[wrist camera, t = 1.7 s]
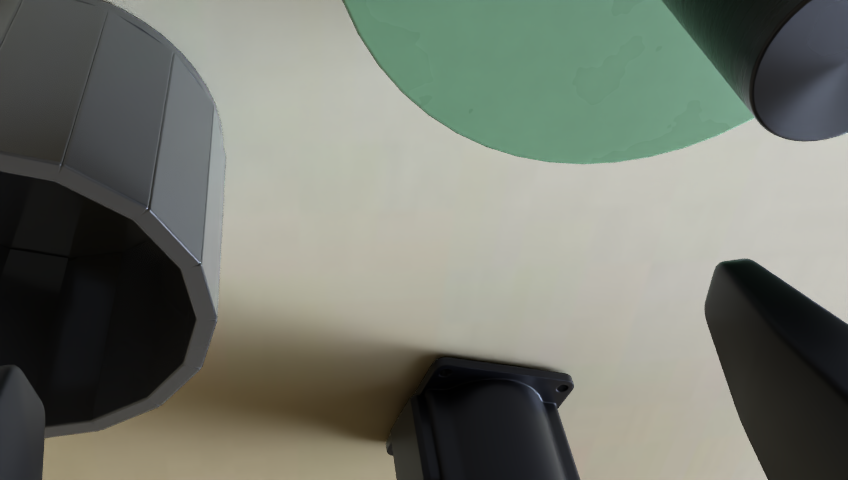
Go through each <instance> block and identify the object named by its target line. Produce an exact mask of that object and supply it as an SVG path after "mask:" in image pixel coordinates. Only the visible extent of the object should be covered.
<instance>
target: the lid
mask: <svg viewBox="0 0 848 480" xmlns="http://www.w3.org/2000/svg"><path fill="white" fill-rule="evenodd" d="M342 1H343V3H344V5H345V7H346V9H347V11H348V13H349V16H350V18H351V20H352V22H353V24H354V26H355V28H356V31H357V33H358V35H359V36H360V38H361V39H362V41H363V42H364V44H365V45H366V47H367V48H368V50H369V52H370V53H371V55H372V56H373V58H374V59H375V61H376V62H377V64H378V65H379V67H380V68H381V69H382V70H383V71H384V72H385V73H386V75H387V76H388V77H389V78H390V79H391V80H392V81H393V83H394V84H395V85H396V86H397V87H398V88H399V89H400V91H401V92H402V93H403V94H405V95H406V96H407V97H408V98H409V99H410V100H412V101H413V102H414V103H415V104H416V105H417V106H419V107H420V108H421V109H422V110H423V111H424V112H426V113H427V114H428V115H429V116H431V117H432V118H434V119H436V120H437V121H439V122H440V123H442V124H443V125H445V126H447V127H448V128H450V129H451V130H453V131H454V132H456V133H458V134H460V135H462V136H464V137H466V138H469V139H471V140H473V141H475V142H477V143H479V144H481V145H484V146H486V147H489V148H492V149H495V150H498V151H502V152H505V153H508V154H511V155H514V156H518V157H523V158H529V159H534V160H540V161H546V162H555V163H572V164H594V163H613V162H621V161H627V160H634V159H640V158H646V157H651V156H655V155H659V154H663V153H667V152H670V151H674V150H678V149H682V148H685V147H688V146H690V145H693V144H696V143H699V142H701V141H704V140H707V139H710V138H712V137H715V136H718V135H720V134H722V133H724V132H726V131H728V130H730V129H733V128H735V127H737V126H739V125H741V124H743V123H745V122H747V121H750V120H752V119H753V118H756V119H757V121H758V122H759V123H760V124H761V125H762V126H763V127H764V128H765V129H766V130H767V131H769V132H771V133H772V134H774V135H777V136H779V137H782V138H785V139H789V140H794V141H818V140H824V139H829V138H833V137H837V136H840V135H843V134H845V133H848V0H342Z"/></svg>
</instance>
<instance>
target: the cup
mask: <svg viewBox="0 0 848 480" xmlns="http://www.w3.org/2000/svg"><path fill="white" fill-rule="evenodd" d="M225 169H226V154H225V150H224V139H223V132H222V125H221V120H220V117H219V114H218V110H217V107H216V104H215V102H214V100H213V98H212V96H211V94H210V92H209V90H208V87H207V86H206V84H205V83H204V81H203V80H202V78H201V77H200V75H199V74H198V72H197V71H196V69H195V68H194V67H193V66H192V64H191V63H190V62H189V61H188V60H187V59H186V57H185V56H184V55H183V54H182V53H181V52H180V51H179V50H178V49H177V48H176V47H175V46H174V45H173V44H172V43H171V42H169V41H168V40H167V39H166V38H165V37H164V36H163V35H161V34H160V33H159V32H157V31H156V30H155V29H153V28H152V27H150V26H149V25H148V24H146V23H145V22H144V21H142V20H140V19H138V18H137V17H135V16H133V15H131V14H130V13H128V12H126V11H125V10H123V9H121V8H119V7H116V6H114V5H112V4H110V3H107V2H105V1H103V0H0V366H4V365H16V366H17V367H19V368H20V369H21V370H22V371H23V373H24V375H25V376H26V378H27V379H28V381H29V382H30V384H31V385H32V387H33V389H34V390H35V392H36V393H37V395H38V396H39V398H40V399H41V401H42V403H43V406H44V410H45V436H44V438H49V437H57V436H65V435H72V434H80V433H88V432H96V431H100V430H104V429H106V428H109V427H111V426H113V425H116V424H118V423H121V422H123V421H126V420H128V419H131V418H133V417H136V416H138V415H141V414H143V413H145V412H148V411H150V410H153V409H155V408H158V407H159V406H161V405H162V404H164V403H165V402H166V401H167V400H168V399H169V398H170V397H171V396H172V395H173V394H174V393H175V392H177V391H178V390H179V389H180V388H181V387H182V386H183V385H184V384H185V383H186V382H187V381H189V380H190V379H191V378H192V377H193V376H194V375H195V374H196V373H197V372H198V371H199V370H200V369H201V368H202V366H203V363H204V360H205V357H206V354H207V351H208V348H209V345H210V342H211V339H212V335H213V332H214V329H215V326H216V323H217V318H218V300H219V281H220V262H221V244H222V225H223V206H224V188H225Z"/></svg>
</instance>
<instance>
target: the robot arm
mask: <svg viewBox="0 0 848 480" xmlns="http://www.w3.org/2000/svg"><path fill="white" fill-rule="evenodd" d="M705 317H706V321H707V324H708V327H709V330H710V333H711V336H712V339H713V342H714V345H715V348H716V351H717V354H718V357H719V360H720V363H721V366H722V369H723V372H724V375H725V378H726V381H727V383H728V386H729V389H730V392H731V395H732V398H733V401H734V404H735V407H736V410H737V412H738V415H739V418H740V420H741V423H742V425H743V427H744V429H745V432H746V434H747V436H748V438H749V441H750V443H751V445H752V447H753V449H754V451H755V453H756V455H757V457H758V460H759V462H760V464H761V466H762V468H763V470H764V472H765V474H766V476H767V479H768V480H848V324H846V323H845V322H844V321H842V320H841V319H839V318H838V317H836V316H835V315H833V314H832V313H830V312H829V311H827V310H826V309H824V308H823V307H821V306H820V305H818V304H817V303H815V302H814V301H812V300H811V299H809V298H808V297H806V296H805V295H804V294H802V293H801V292H799V291H798V290H796V289H795V288H793V287H792V286H790V285H789V284H787V283H786V282H784V281H783V280H781V279H780V278H778V277H777V276H775V275H774V274H772V273H771V272H769V271H768V270H766V269H765V268H764V267H762V266H761V265H759V264H758V263H756V262H754V261H752V260H750V259H738V260H731V261H724V262H721V263H719V264H718V265H717V266H716V268H715V270H714V273H713V277H712V280H711V284H710V287H709V291H708V294H707V298H706V301H705ZM573 388H574V384H573V381H572V378H571V376H570V375H568V374H565V373H558V372H550V371H543V370H536V369H529V368H521V367H514V366H507V365H500V364H493V363H485V362H478V361H471V360H464V359H457V358H449V357H443V358H439V359H437V360H436V361H434V363H433V364H432V365H431V367H430V369H429V370H428V372H427V374H426V375H425V377H424V379H423V381H422V382H421V384H420V386H419V387H418V389H417V391H416V392H415V394H414V395H413V396H412V397H411V398H410V399H409V400H408V402H407V404H406V405H405V407H404V409H403V410H402V412H401V414H400V415H399V417H398V419H397V421H396V422H395V424H394V426H393V427H392V429H391V431H390V436H389V438H388V439H387V441H386V448H387V453H388V454H389V455H392V456H394V463H395V471H396V478H397V480H580V477H579V474H578V471H577V468H576V465H575V462H574V459H573V456H572V453H571V450H570V447H569V444H568V440H567V437H566V434H565V431H564V428H563V425H562V422H561V419H560V416H559V413H558V410H557V409H558V408H559V406H560V405H561V404H562V403H563V401H564V400H565V399H566V397H567V396H568V395H569V394H570V392H571V391H572V390H573ZM44 436H45V410H44V406H43V403H42V401H41V399H40V398H39V396H38V395H37V393H36V392H35V390H34V389H33V387H32V385H31V384H30V382H29V381H28V379H27V378H26V376H25V375H24V373H23V371H22V370H21V369H20V368H19V367H17V366H16V365H4V366H0V480H42V472H43V454H44Z"/></svg>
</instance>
